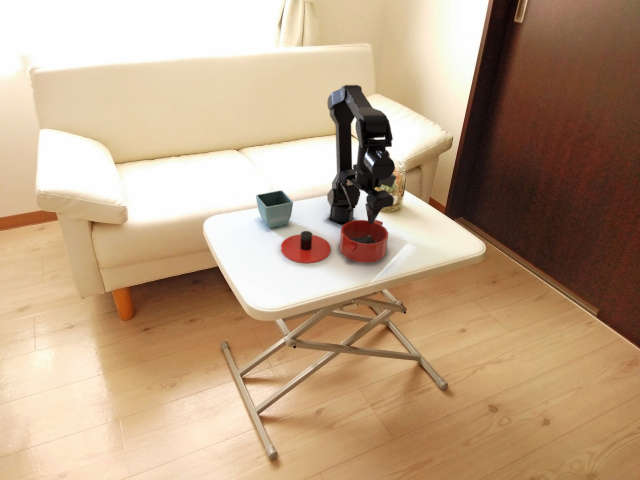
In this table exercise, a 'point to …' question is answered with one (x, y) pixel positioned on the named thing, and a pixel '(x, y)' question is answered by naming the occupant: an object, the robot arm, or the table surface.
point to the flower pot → (274, 208)
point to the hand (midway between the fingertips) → (361, 215)
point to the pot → (362, 250)
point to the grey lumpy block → (365, 240)
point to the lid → (305, 248)
